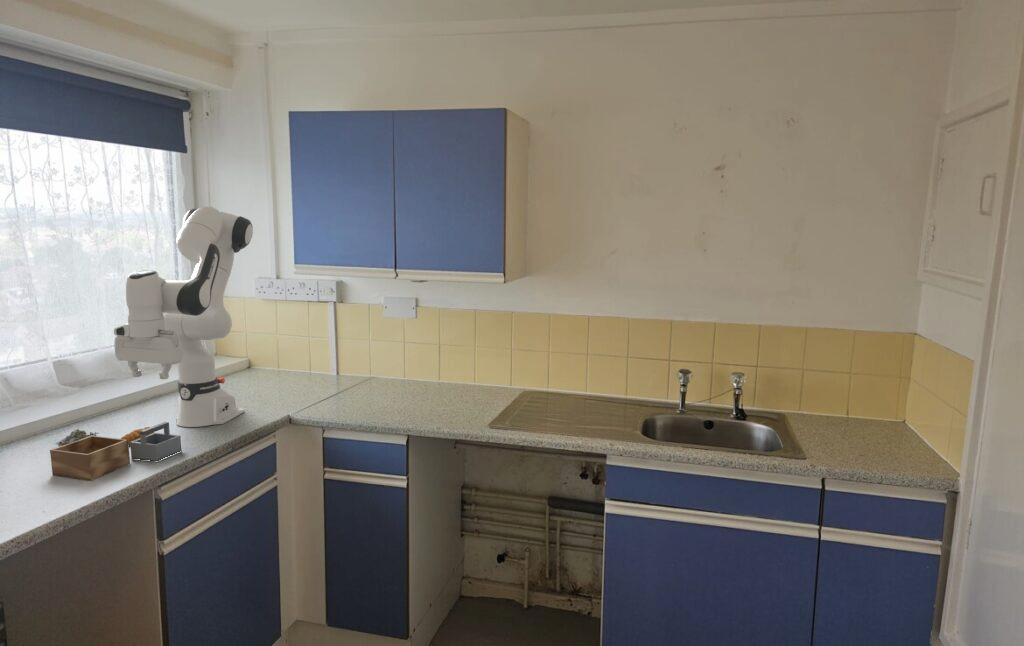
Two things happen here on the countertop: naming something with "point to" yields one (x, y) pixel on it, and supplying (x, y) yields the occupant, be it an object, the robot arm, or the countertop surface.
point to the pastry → (134, 435)
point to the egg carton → (75, 437)
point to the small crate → (155, 444)
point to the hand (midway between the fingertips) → (150, 377)
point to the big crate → (90, 457)
